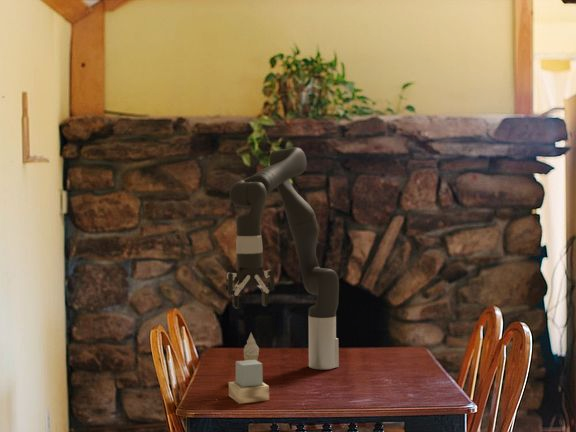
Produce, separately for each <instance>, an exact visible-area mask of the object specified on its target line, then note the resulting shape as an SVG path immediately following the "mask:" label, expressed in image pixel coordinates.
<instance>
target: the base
mask: <svg viewBox="0 0 576 432" xmlns="http://www.w3.org/2000/svg"><path fill="white" fill-rule="evenodd" d="M228 396H229V397H230V398H231V399H233V400H234V401H235V402H236V403H237V404H239V405H240V404H247V403H256V402H263V401H270V386H269V385H268V384H266V383H265V382H263V385H255V386H246V387H242V386H241V385H239V384H238V383H236V380H234V381H228Z"/></svg>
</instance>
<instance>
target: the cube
mask: <svg viewBox="0 0 576 432" xmlns="http://www.w3.org/2000/svg"><path fill="white" fill-rule="evenodd" d="M263 373H264V372H263V363H262V362H260V361H258V359H257V360H245V359H244V360H236V361H235V381H236V383H238V384H239V385H241V386H242V387H246V386H255V385H263V383H264V379H263Z"/></svg>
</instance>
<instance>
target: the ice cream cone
mask: <svg viewBox="0 0 576 432" xmlns="http://www.w3.org/2000/svg"><path fill="white" fill-rule="evenodd" d="M259 352H260V347H259V346H258V345H257V343H256V340H255V338H254V336H253V334H252V332H250V334H249V336H248V339H247V340H246V344H245V345H244V348H243V353H242V356H243V357H244V361H245V360H257V361H258V358H259V355H260V354H259Z"/></svg>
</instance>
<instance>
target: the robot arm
mask: <svg viewBox="0 0 576 432" xmlns="http://www.w3.org/2000/svg"><path fill="white" fill-rule="evenodd" d="M307 161H308V160H307V157H306V154H305V152H304V151H303V149H301V148H300V147H297V146H296V147H295V146H294V147H287V148H283V149H277V150H274V151H272V152H271V153H270V154H269V158H268V163H269V166H267V167H264V168H262V169H260V170H259V171H257V172H256V173H255V174H253V175H252V176H248V177H246V178H242V179H239V180H238V181H236V182H234V184H232V186H231V188H230V190H229V199H230V201H231V203H232V204H233V205H234V206H237V207H250V210H249V212H248V213H246V214H241V215H239V216H238V217H237V219H236V243H235V245H236V247H235V248H236V249H235V251H236V254H235V255H236V272H226V273H225V293H226V294H227V295H228V294H229V295H231V297H232V307H233V308H234V309H236V310H238V309H240V296H239V294H240V292H241V291H242V290H243V289H244V288H249V287H258V288H259V289H260V290H261V306H262V307H267V306H268V305H269V301H270V300H269V294H270V293H271V292H272V291H275V290H276V289H275V276H274V274H275V273H274V270H272V269H267V270H264V269H263V268H264V267H263V266H264V262H263V261H264V258H263V254H264V253H263V249H264V247H263V239H262V218H263V215H264V214H263V213H264V208H265V206H266V203H267V202H266V201H267V196H268V194H270V193H271V192H273V190H274V189H276V188H277V190H278V192H279V195H280V199H281V202H282V204H283V205H282V206H283V208H284V213H285V214H286V219H287V223H288V227H289V230H290V233H291V236H292V238H293V243H294V246H295V247H294V248H295V250H296V254H297V258H298V262H299V263H298V264H299V267H300V268H299V269H300V273H301V279H302V283H303V287H304V288H305V290H306V292H308V293H309V294H311V295H313V296H317V298H316V299H317V300H316V303H315V304H314V305H311V306H309V307H308V367H309V368H310V369H314V370H332V369H334V368H339V367H340V366H339V354H340V353H339V338H337V310H338V306H339V292H340V281H339V280H340V279H339V276H338V274H337V272H336V271H335V270H333V269H331V268H325V267H320V264H319V261H318V257H317V254H316V251H317V244H318V240H319V235H320V230H319V224H318V221H317V217H316V213H315V211H314V209H313V208H312V206H311V205H310V203H308V201H306V200H305V199H304V198H303V197H302V196H301V195H300V194H298V192H297V191H296V189H295V188H294V187H293V185H292V182H291V180H290V179H292V178H294V177H297V176H299V175H300V176H301V175H302V174H303V173H304V172H305V171H306V170H307V164H308V163H307ZM263 277H265V278H266V282H267V285H266V283H264V281H263ZM235 278H236V279H237V280H238V281H237V282H236V284H235V285H234V284H233V282H234V281H235ZM233 285H234V287H233Z"/></svg>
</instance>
